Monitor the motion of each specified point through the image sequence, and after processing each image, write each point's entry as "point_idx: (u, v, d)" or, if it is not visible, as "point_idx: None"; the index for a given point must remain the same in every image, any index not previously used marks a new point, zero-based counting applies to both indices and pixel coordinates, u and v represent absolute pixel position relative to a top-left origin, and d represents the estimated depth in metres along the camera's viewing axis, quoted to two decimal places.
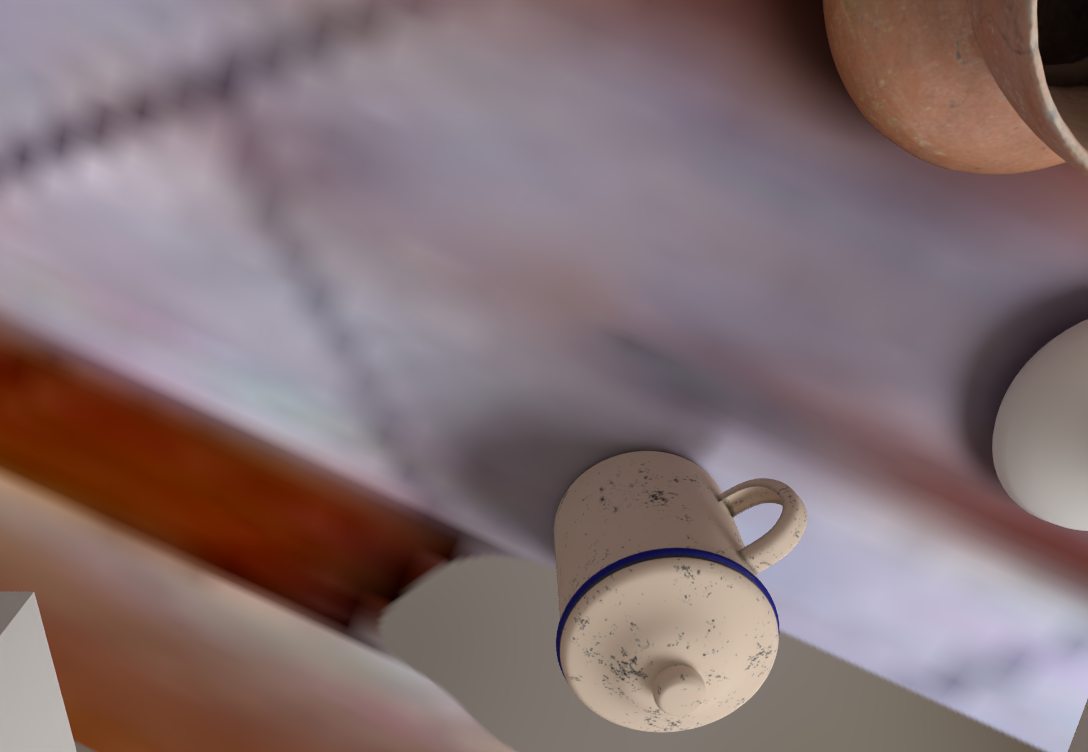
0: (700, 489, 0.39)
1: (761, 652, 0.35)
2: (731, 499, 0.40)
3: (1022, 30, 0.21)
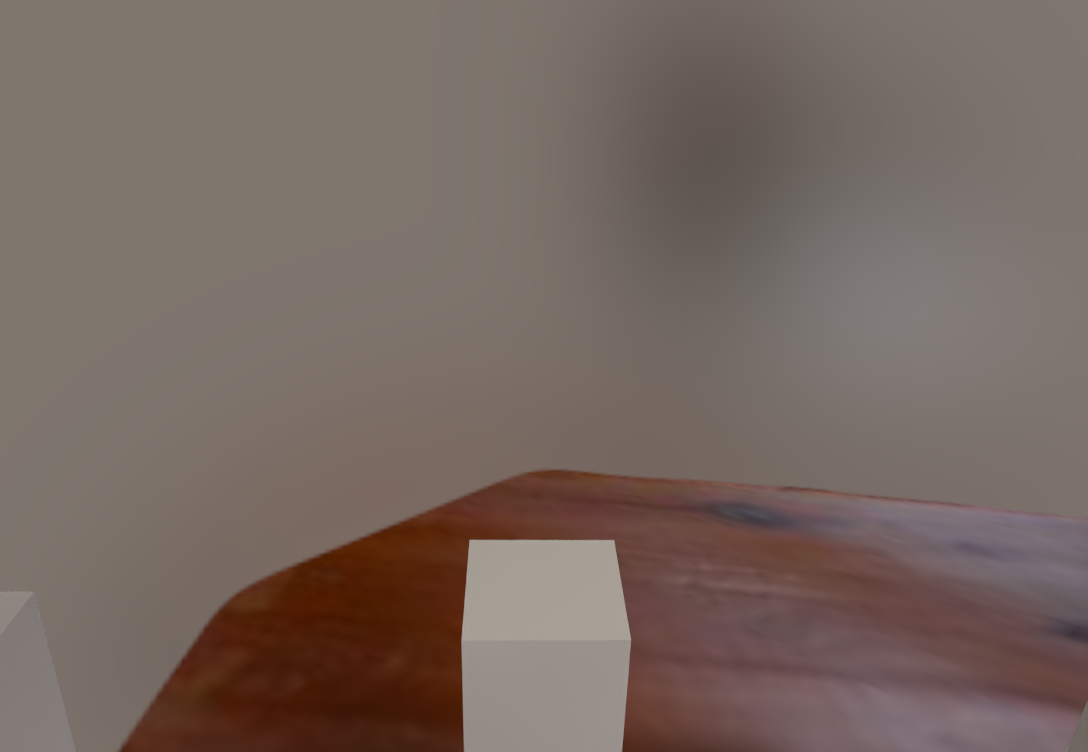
0: None
1: None
2: None
3: None
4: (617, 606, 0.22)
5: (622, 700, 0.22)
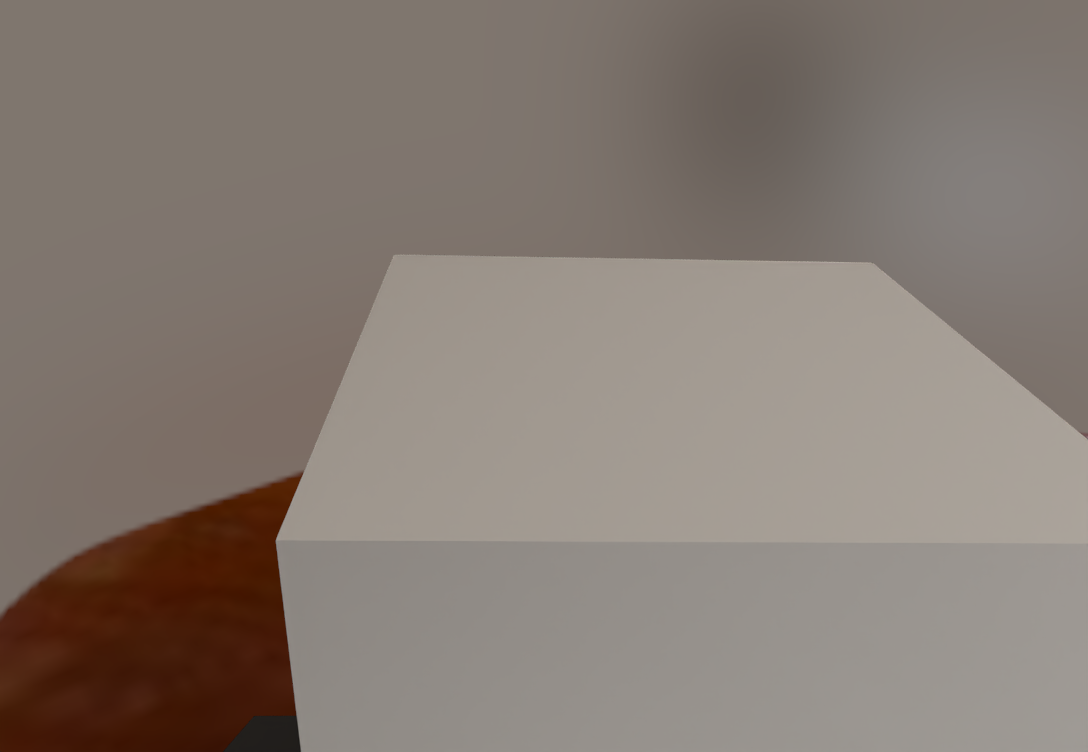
0: None
1: None
2: None
3: None
4: (1024, 415, 0.05)
5: None
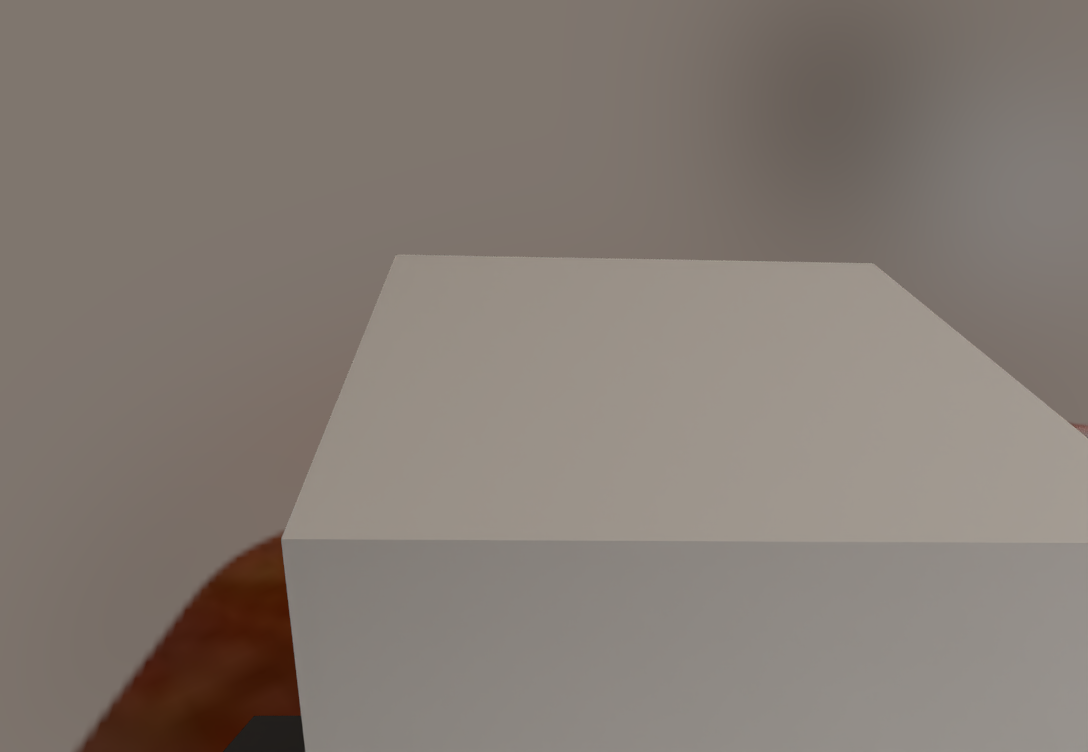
0: None
1: None
2: None
3: None
4: (1026, 415, 0.05)
5: None
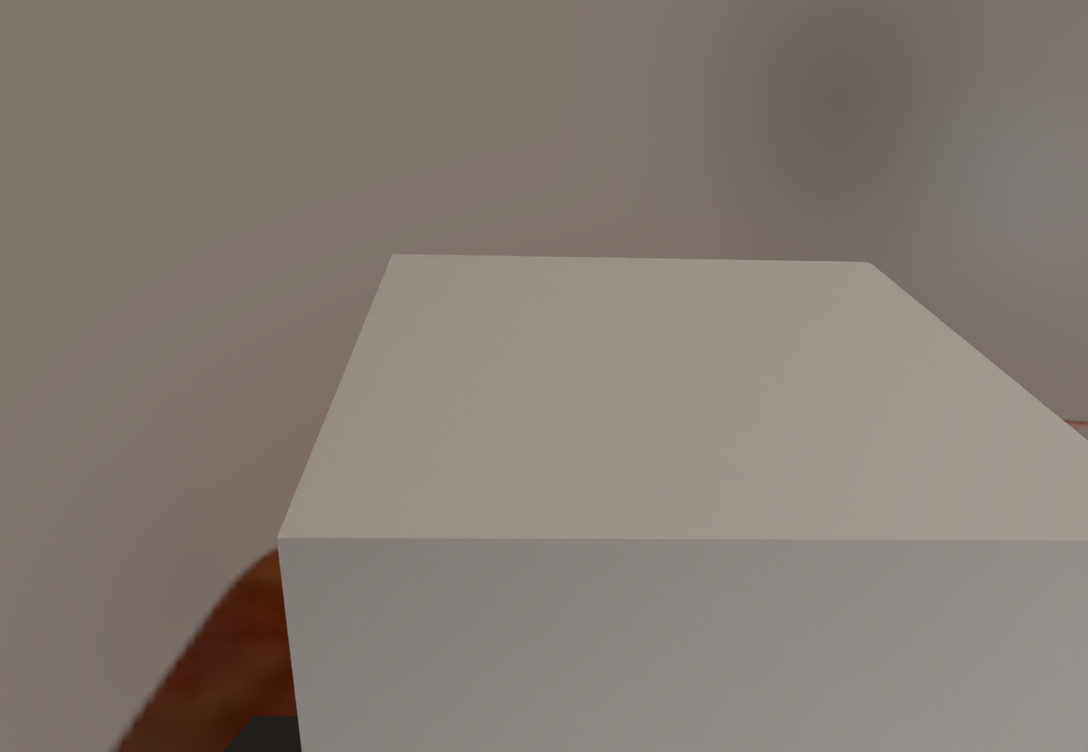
0: None
1: None
2: None
3: None
4: (1020, 413, 0.05)
5: None
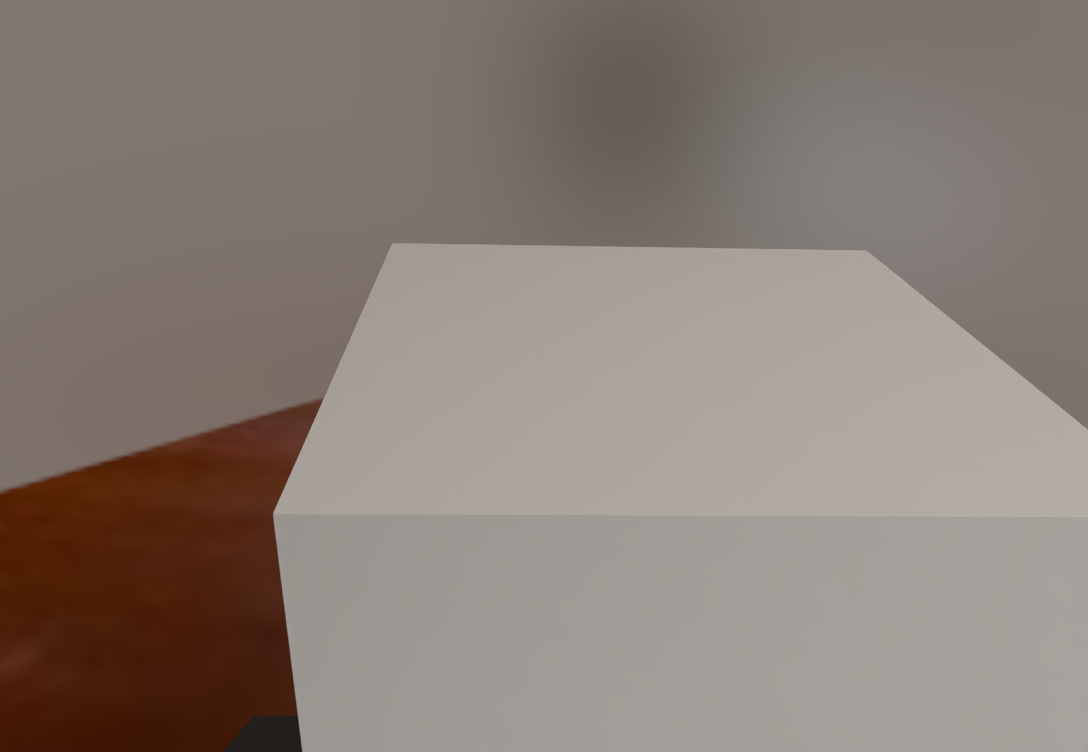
0: None
1: None
2: None
3: None
4: (1013, 395, 0.05)
5: None
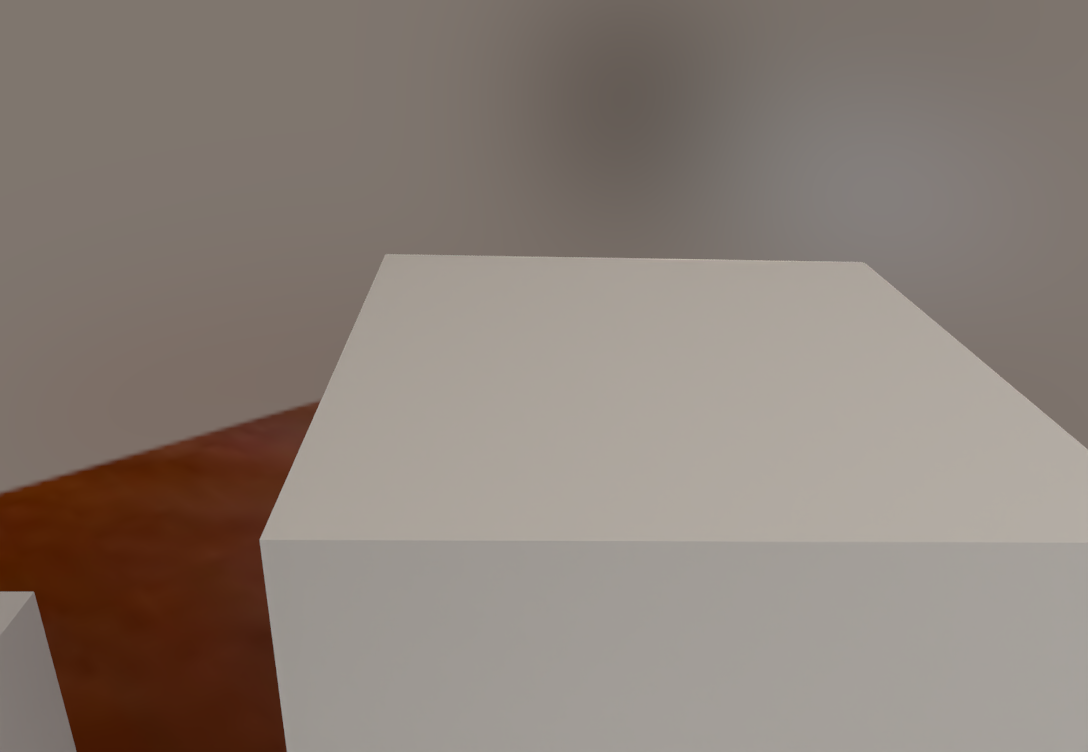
0: None
1: None
2: None
3: None
4: (1012, 414, 0.05)
5: None
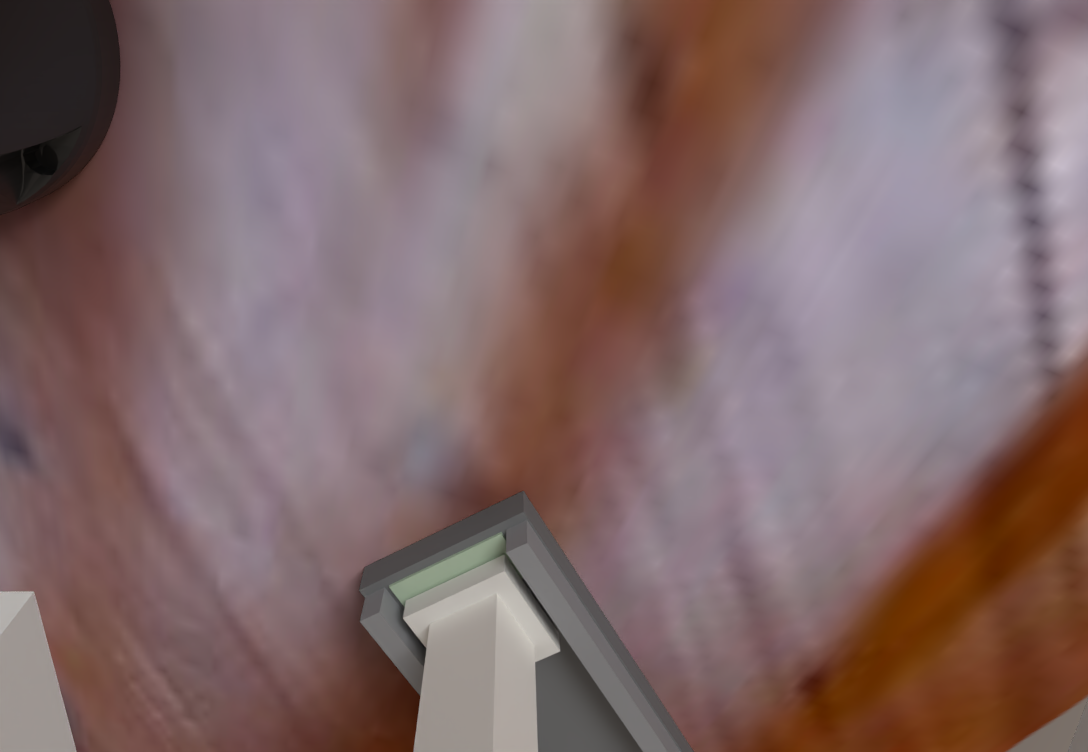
0: None
1: None
2: None
3: None
4: None
5: None
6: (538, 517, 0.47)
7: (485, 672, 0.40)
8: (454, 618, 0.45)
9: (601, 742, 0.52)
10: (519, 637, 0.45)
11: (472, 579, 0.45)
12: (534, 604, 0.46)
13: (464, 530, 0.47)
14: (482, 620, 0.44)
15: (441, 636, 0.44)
